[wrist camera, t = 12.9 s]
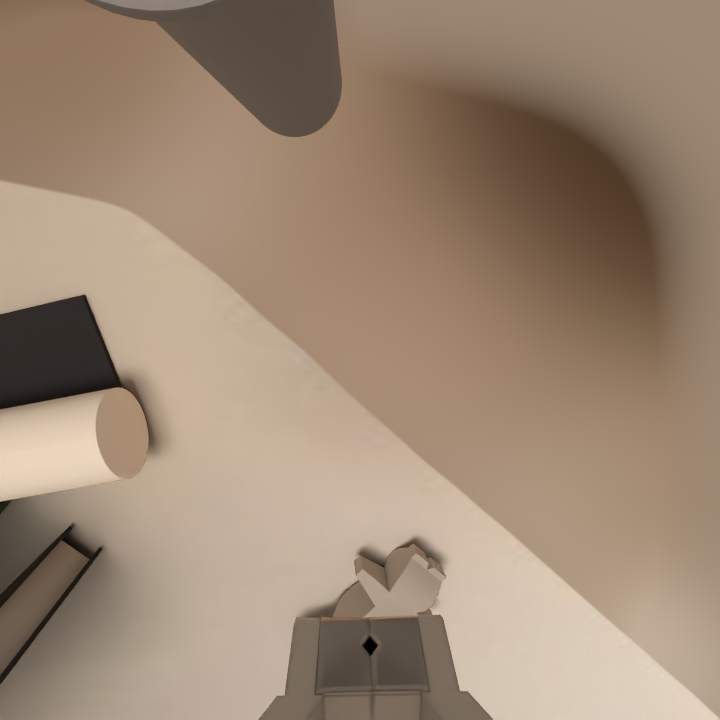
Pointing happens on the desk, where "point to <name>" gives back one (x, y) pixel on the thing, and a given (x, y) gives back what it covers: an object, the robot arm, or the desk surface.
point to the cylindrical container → (71, 443)
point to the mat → (52, 354)
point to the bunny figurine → (393, 586)
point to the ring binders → (37, 597)
